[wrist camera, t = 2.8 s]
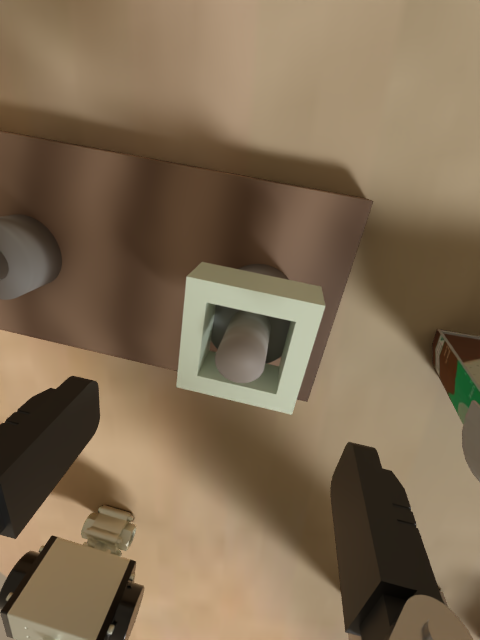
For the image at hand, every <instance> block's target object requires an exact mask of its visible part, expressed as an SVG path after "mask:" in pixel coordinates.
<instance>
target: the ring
mask: <svg viewBox="0 0 480 640" xmlns="http://www.w3.org/2000/svg"><path fill="white" fill-rule="evenodd" d="M216 305H220V306H225V307H229V308H234V309H238V310H243V311H248V312H252V313H257V314H261V315H266V316H271V317H275V318H280V319H284V320H289V321H291V322H290V326H289V330H288V334H287V338H286V341H285V345H284V349H283V353H282V357H281V360H280V364H279V366H275V365H271V364H266V363H265V367H264V371H263V373H262V374H261V376H260V377H259V378H257V379H256V380H254V381H252V382H249V383H236V382H232V381H230V380H228V379H226V378H225V377H224V376H223V375H222V374H221V373H220V372H219V371H218V369H217V367H216V364H215V355H216V352H214V351H209V350H210V343H211V336H212V329H213V322H214V315H215V308H216ZM324 309H325V301H324V297H323V292H322V287H321V286H316V285H311V284H306V283H302V282H297V281H292V280H287V279H282V278H278V277H273V276H268V275H263V274H258V273H254V272H249V271H244V270H239V269H234V268H230V267H225V266H220V265H215V264H210V263H206V262H201V263H200V264H199V265H198V266H197V267H196V268H195V269H194V270H193V271H192V272H191V273H190V274H189V275H188V276H187V277H186V288H185V298H184V309H183V320H182V331H181V341H180V352H179V363H178V374H177V385H176V387H178V388H182V389H186V390H190V391H195V392H199V393H203V394H207V395H211V396H215V397H220V398H224V399H228V400H232V401H236V402H240V403H245V404H249V405H253V406H257V407H261V408H266V409H270V410H274V411H278V412H282V413H286V414H291V415H292V413H293V410H294V406H295V403H296V400H297V397H298V393H299V390H300V387H301V384H302V380H303V377H304V374H305V371H306V367H307V364H308V361H309V358H310V355H311V351H312V348H313V345H314V342H315V338H316V335H317V332H318V329H319V325H320V322H321V319H322V316H323V312H324Z"/></svg>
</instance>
